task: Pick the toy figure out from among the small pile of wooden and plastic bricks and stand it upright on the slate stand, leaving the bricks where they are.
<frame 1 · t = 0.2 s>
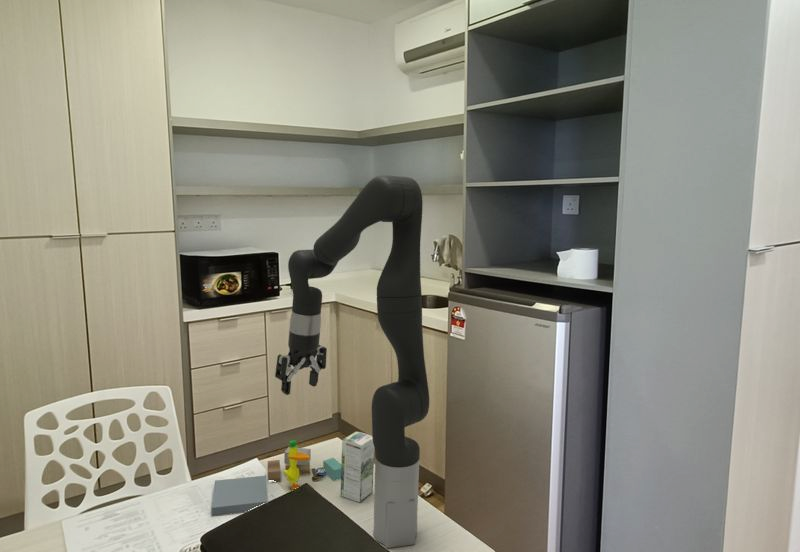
hand: (299, 389, 136), 22 cm above the table, tool pointing down, fingers open, 8 cm apart
oak brick: (297, 472, 139), on the table, touching grey brick
slate stand: (240, 498, 126), on the table
teal brick: (333, 474, 139), on the table
walnut brick: (273, 477, 137), on the table
syrup box: (356, 495, 129), on the table
grey brick: (297, 461, 139), point 3 cm above the table, touching oak brick
toy figure: (296, 488, 131), on the table
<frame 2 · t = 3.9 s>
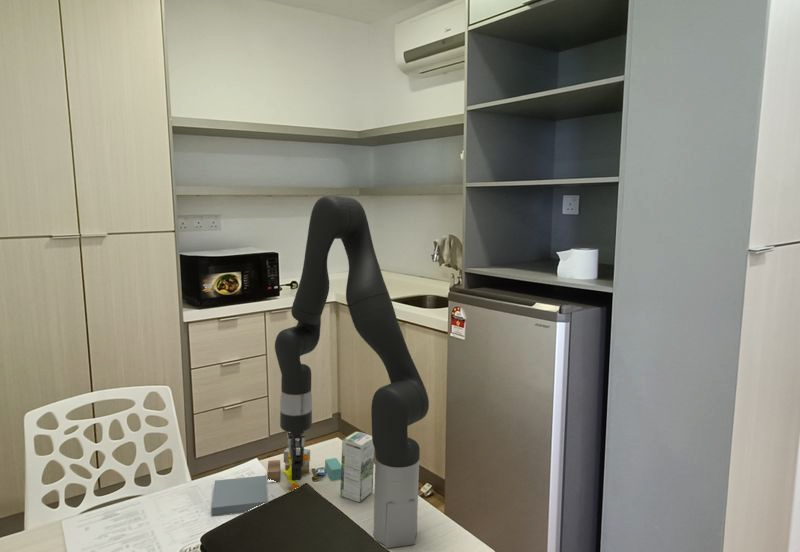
hand: (295, 474, 131), 3 cm above the table, tool pointing down, fingers closed on toy figure, 3 cm apart
toy figure: (296, 488, 131), on the table, touching gripper
everything else where it was.
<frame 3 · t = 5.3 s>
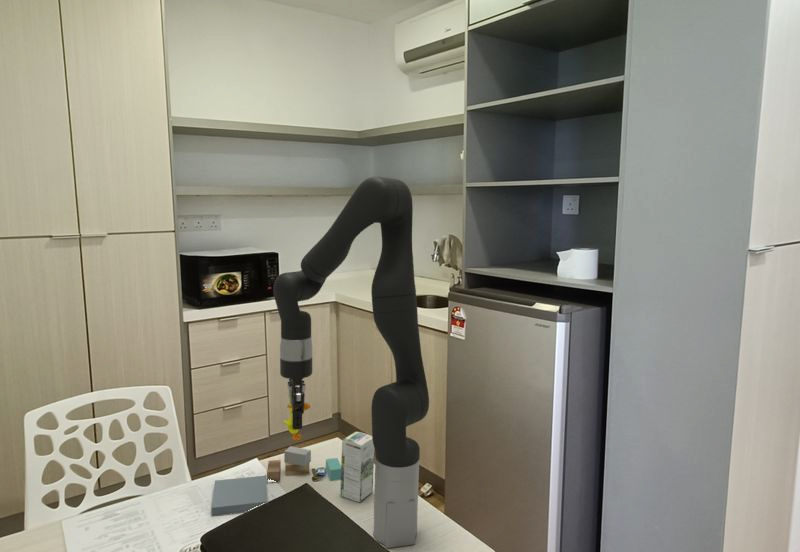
hand: (296, 424, 129), 16 cm above the table, tool pointing down, fingers closed on toy figure, 3 cm apart
toy figure: (297, 439, 129), point 13 cm above the table, touching gripper
everything else where it was.
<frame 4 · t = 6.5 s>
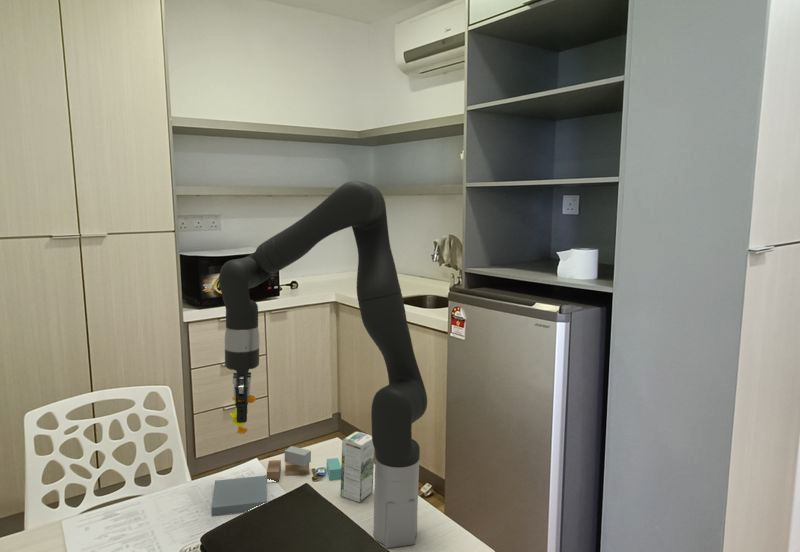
hand: (242, 418, 124), 20 cm above the table, tool pointing down, fingers closed on toy figure, 3 cm apart
toy figure: (242, 432, 124), point 16 cm above the table, touching gripper
everything else where it was.
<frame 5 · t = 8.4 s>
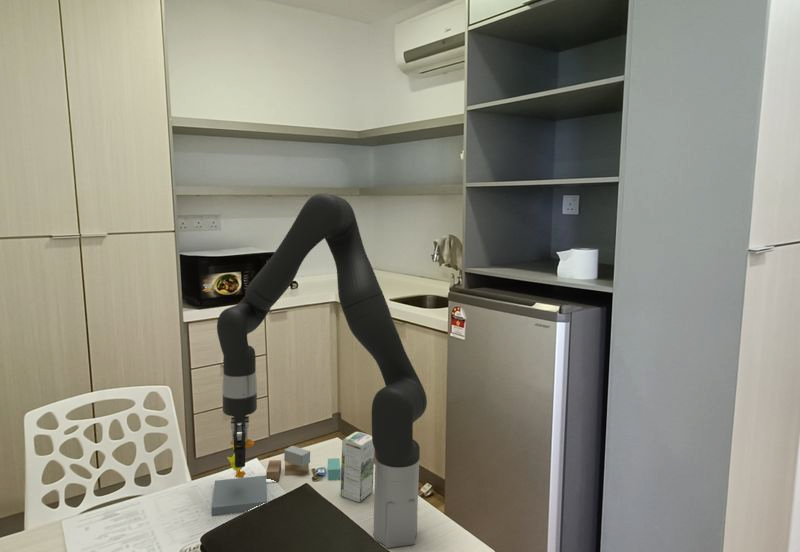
hand: (240, 461, 125), 9 cm above the table, tool pointing down, fingers closed on toy figure, 3 cm apart
toy figure: (240, 476, 125), point 6 cm above the table, touching gripper
everything else where it was.
when the fingers open (7 cm above the table, at t = 9.7 s): toy figure drops 1 cm, resting on slate stand.
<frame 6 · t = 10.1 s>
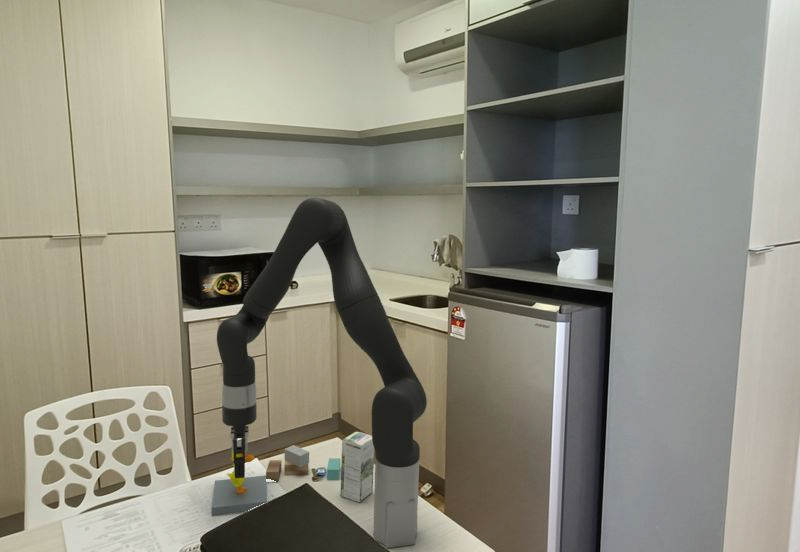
hand: (240, 468, 125), 7 cm above the table, tool pointing down, fingers open, 7 cm apart
oak brick: (296, 472, 139), on the table
grey brick: (296, 461, 139), point 3 cm above the table
toy figure: (241, 492, 125), point 2 cm above the table, touching slate stand
everything else where it was.
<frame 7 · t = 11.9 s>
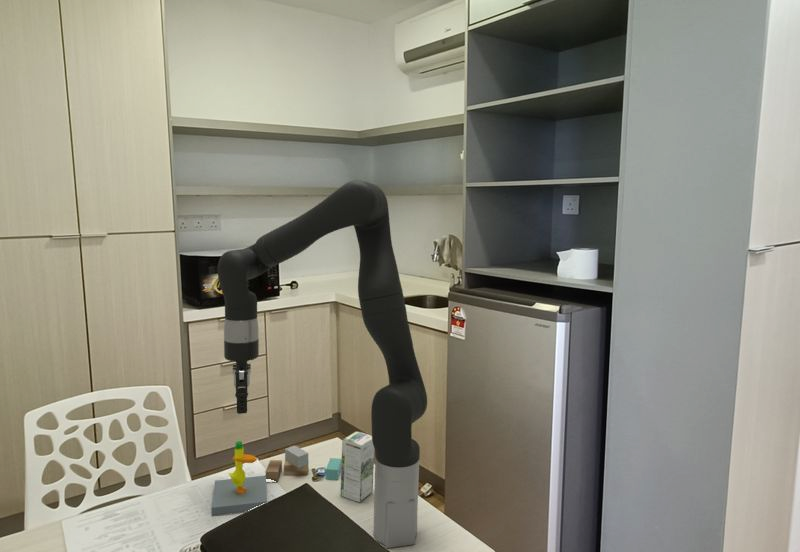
hand: (242, 406, 124), 22 cm above the table, tool pointing down, fingers open, 8 cm apart
oak brick: (296, 473, 139), on the table, touching grey brick
grey brick: (296, 461, 139), point 3 cm above the table, touching oak brick
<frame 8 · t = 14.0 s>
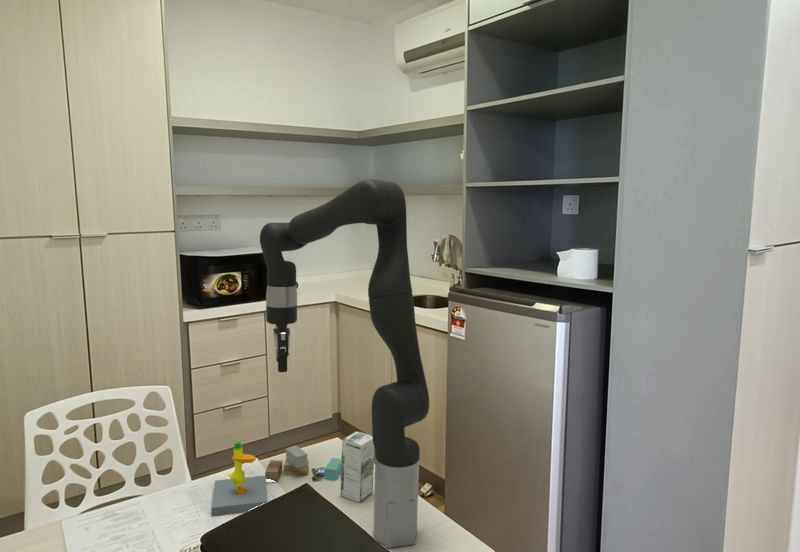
hand: (281, 366, 135), 28 cm above the table, tool pointing down, fingers open, 8 cm apart
at the end: toy figure inside the target area on the slate stand (0.7 cm from its centre), point 1.8 cm above the slate stand's base; toy figure tilted 1°; grey brick moved 0.4 cm from its start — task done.
